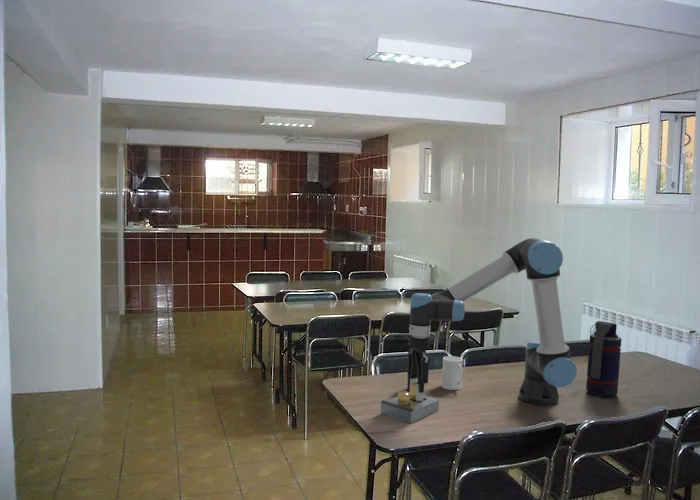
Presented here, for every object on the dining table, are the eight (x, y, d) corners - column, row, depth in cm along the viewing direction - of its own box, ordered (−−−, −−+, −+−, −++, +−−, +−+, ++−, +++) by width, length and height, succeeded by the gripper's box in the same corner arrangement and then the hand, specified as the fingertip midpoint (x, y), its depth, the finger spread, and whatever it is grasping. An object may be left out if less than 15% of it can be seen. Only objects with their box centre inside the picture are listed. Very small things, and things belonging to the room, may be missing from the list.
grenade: (593, 387, 249) (598, 318, 246) (621, 394, 241) (627, 322, 238) (578, 394, 239) (583, 322, 237) (608, 402, 231) (613, 327, 228)
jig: (438, 410, 215) (439, 389, 214) (410, 423, 201) (411, 401, 201) (409, 401, 223) (410, 381, 223) (380, 413, 210) (381, 392, 209)
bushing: (424, 406, 216) (425, 385, 215) (417, 409, 212) (418, 388, 211) (414, 403, 219) (415, 382, 218) (407, 406, 215) (408, 385, 214)
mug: (469, 391, 238) (471, 363, 237) (450, 393, 235) (452, 364, 234) (455, 383, 249) (456, 355, 248) (437, 384, 246) (438, 356, 245)
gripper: (399, 330, 220) (397, 391, 222) (421, 342, 204) (417, 407, 206) (417, 330, 223) (414, 389, 225) (440, 341, 206) (436, 405, 208)
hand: (416, 398), depth 215 cm, fingers closed on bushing, 5 cm apart
